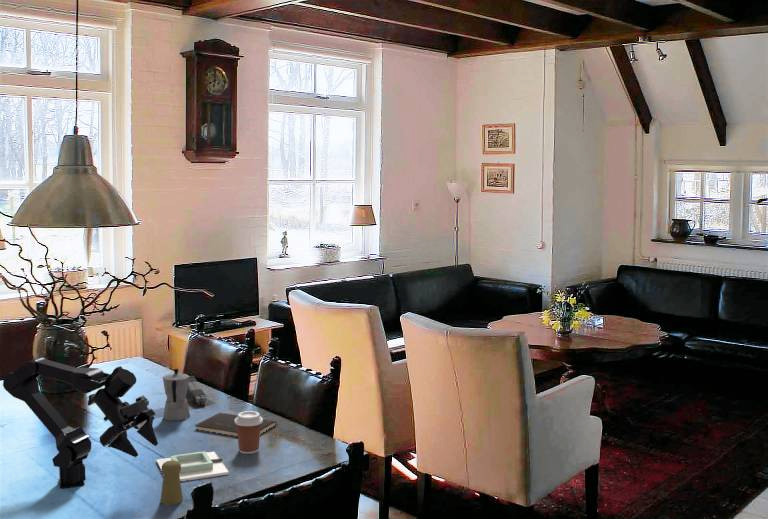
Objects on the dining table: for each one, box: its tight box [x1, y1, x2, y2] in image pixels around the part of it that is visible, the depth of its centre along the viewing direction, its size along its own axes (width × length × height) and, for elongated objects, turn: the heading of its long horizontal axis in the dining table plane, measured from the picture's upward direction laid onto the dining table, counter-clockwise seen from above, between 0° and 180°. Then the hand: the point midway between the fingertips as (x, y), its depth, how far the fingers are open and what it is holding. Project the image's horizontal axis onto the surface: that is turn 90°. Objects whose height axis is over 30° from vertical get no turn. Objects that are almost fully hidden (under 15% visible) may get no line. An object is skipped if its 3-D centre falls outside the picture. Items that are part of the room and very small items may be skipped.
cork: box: [160, 460, 184, 506], centre depth 222 cm, size 6×6×11 cm
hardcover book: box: [194, 412, 277, 437], centre depth 283 cm, size 16×23×2 cm
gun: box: [187, 375, 207, 407], centre depth 315 cm, size 4×20×10 cm, turn 28°
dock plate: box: [155, 450, 230, 482], centre depth 246 cm, size 18×18×3 cm
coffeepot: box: [162, 368, 191, 422], centre depth 291 cm, size 15×9×18 cm, turn 9°
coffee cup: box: [234, 410, 264, 455], centre depth 261 cm, size 9×9×12 cm
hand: (147, 450), depth 223 cm, fingers open, 9 cm apart
